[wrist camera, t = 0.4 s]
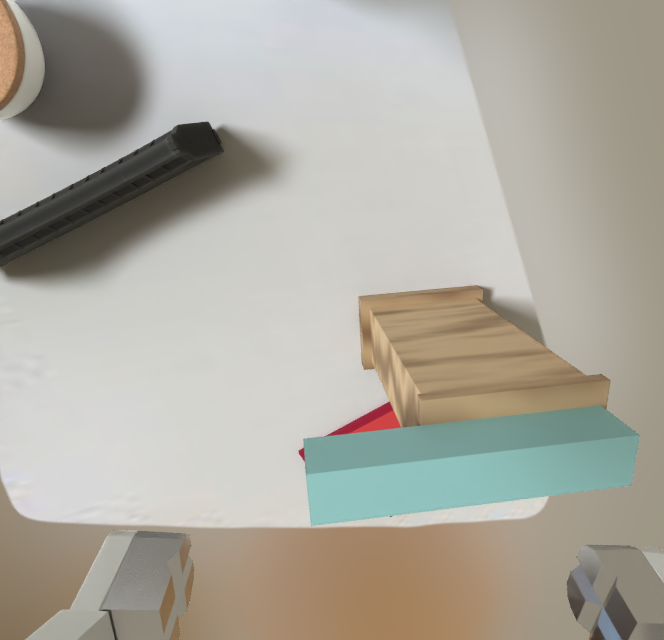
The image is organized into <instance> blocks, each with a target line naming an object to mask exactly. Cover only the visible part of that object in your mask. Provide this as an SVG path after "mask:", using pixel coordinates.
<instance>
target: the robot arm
mask: <svg viewBox="0 0 664 640" xmlns="http://www.w3.org/2000/svg"><path fill="white" fill-rule="evenodd" d="M190 547H191V540H190V535H189V534H181V533H165V532H164V533H163V532H147V531H128V530H126V531H125V530H113V531H112V532H111V533H110V534H109V535H108V536H107V537H106V539H105V541H104V543H103V545H102V547H101V549H100V551H99V553H98V555H97V557H96V559H95V561H94V563H93V565H92V567H91V569H90V571H89V573H88V575H87V577H86V579H85V581H84V582H83V584H82V586H81V588H80V590H79V592H78V594H77V596H76V598H75V600H74V602H73V604H72V606H71V608H70V610H61V611H59V612H58V613H57V614H56V615H55V616H54V617H52V618H51V619H50V620H49V621H47V622H46V623H45V624H44V625H43V626H41V627H40V628H39V629H37V630H36V631H35V632H34V633H33V634H31V635H30V636H29V637H28V638H27V639H25V640H179V638H180V627H179V619H180V618H181V617H182V616H183V615H184V614H185V612H187V609H188V605H189V601H190V597H191V592H192V586H193V579H194V578H193V577H194V566H193V560H192V559H191V558H190V557H189V556H188V555H189V551H190ZM577 559H578V561H579V563H580V565H579V566H577V567H576V568H575V569H573V570H572V571H571V572H570V574H569V577H568V580H567V596H568V600H569V604H570V607H571V610H572V612H573V614H574V616H575V618H576V621H577V622H578V623H579V624H581V625H582V626H583V627H584V628H585V629H586V630H587V631H588V632H589V633H590V636H589V640H664V551H663V550H661V549H660V548H659V547H640V546H634V547H631V546H621V545H585V546H583V547H582V548H580V550H579V552H578V555H577Z"/></svg>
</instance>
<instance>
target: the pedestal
mask: <svg viewBox="0 0 664 640" xmlns="http://www.w3.org/2000/svg"><path fill="white" fill-rule="evenodd" d="M358 298H359V317H360V337H361V356H362V365H363V367H364V370H366V369H375V370H376V372H377V374H378V376H379V379H380V381H381V383H382V385H383V387H384V390H385V392H386V394H387V396H388V399H389V401H390V403H391V405H392V408H393V410H394V412H395V414H396V417H397V419H398V421H399V423H400V426H401V428H404V427H413V426H422V425H431V424H439V423H448V422H457V421H466V420H475V419H484V418H492V417H501V416H510V415H519V414H528V413H537V412H545V411H554V410H563V409H572V408H581V407H590V406H598V405H601V406H602V407H603V408H605V409H606V407H607V401H608V393H609V386H610V380H609V379H607V378H606V377H605V376H603V375H602V374H599V375H591V376H586V375H584V374H583V373H582V372H581V371H579V370H577V369H576V368H575V367H573V366H572V365H570V364H569V363H567V362H566V361H565V360H563V359H562V358H560V357H559V356H557V355H556V354H555V353H553V352H552V351H550V350H549V349H547V348H546V347H545V346H543V345H542V344H540V343H539V342H537V341H536V340H535V339H533V338H532V337H530V336H529V335H527V334H526V333H524V332H523V331H522V330H520V329H519V328H517V327H516V326H514V325H513V324H511V323H510V322H509V321H507V320H506V319H504V318H503V317H501V316H500V315H499V314H497V313H496V312H494V311H493V310H491V309H490V308H488V307H487V306H486V305H484V304H483V289H482V288H480V287H478V286H477V285H476V286H465V287H455V288H444V289H433V290H422V291H411V292H400V293H390V294H379V295H368V296H358Z"/></svg>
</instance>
